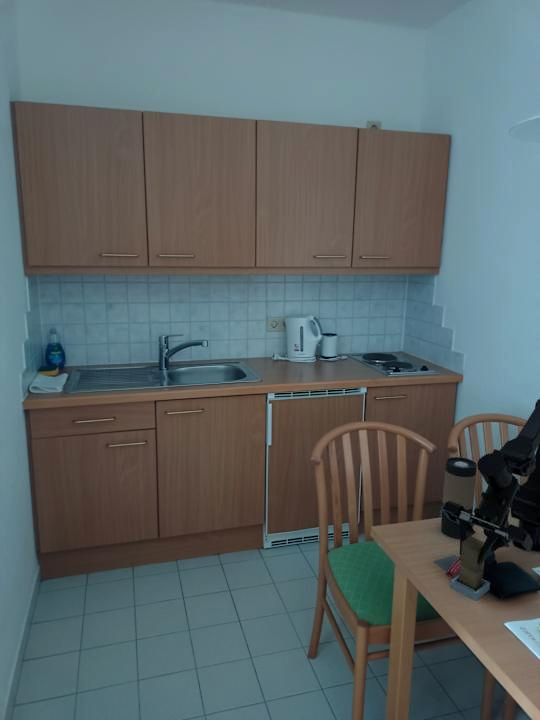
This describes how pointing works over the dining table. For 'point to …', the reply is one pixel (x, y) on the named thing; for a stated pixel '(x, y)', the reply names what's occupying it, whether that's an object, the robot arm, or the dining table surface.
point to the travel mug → (458, 490)
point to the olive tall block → (471, 564)
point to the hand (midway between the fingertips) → (469, 559)
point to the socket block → (469, 591)
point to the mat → (447, 563)
